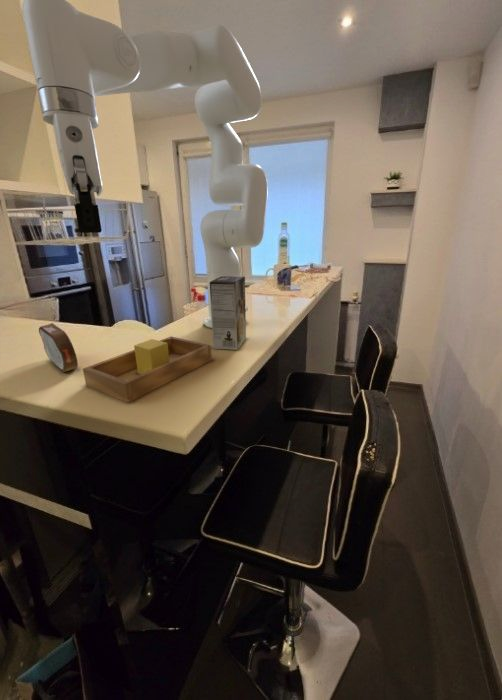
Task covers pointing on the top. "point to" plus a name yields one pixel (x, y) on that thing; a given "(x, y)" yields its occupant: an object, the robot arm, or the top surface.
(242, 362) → the top surface
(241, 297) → the coffee box
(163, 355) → the block
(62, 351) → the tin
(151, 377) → the wooden tray
